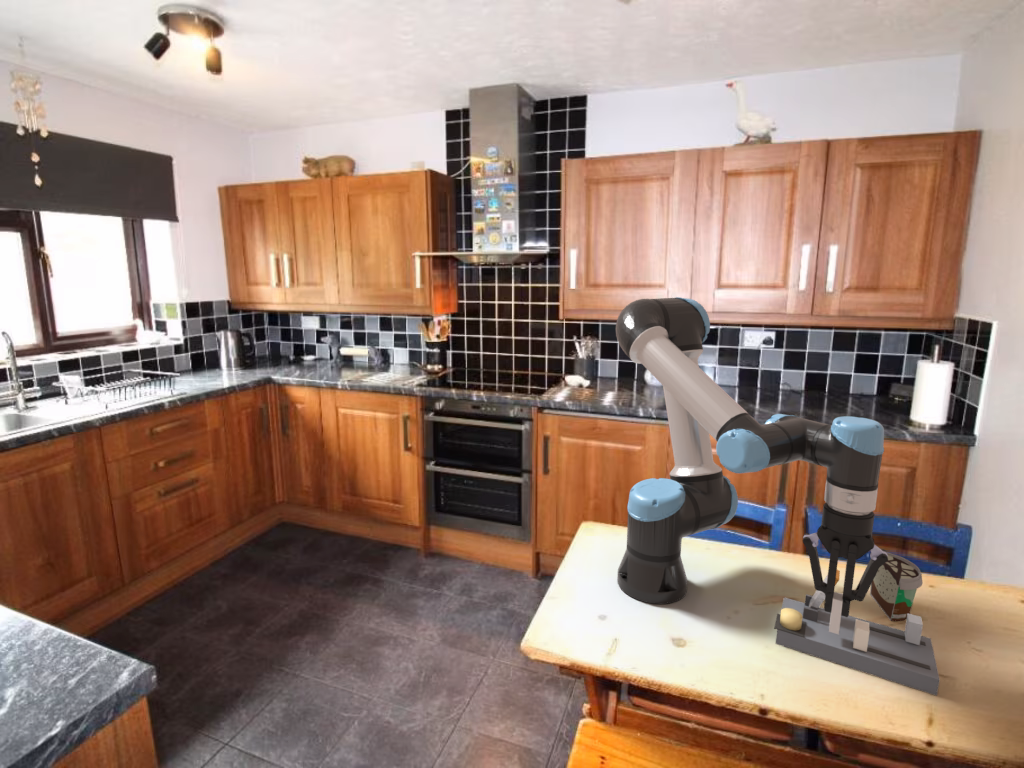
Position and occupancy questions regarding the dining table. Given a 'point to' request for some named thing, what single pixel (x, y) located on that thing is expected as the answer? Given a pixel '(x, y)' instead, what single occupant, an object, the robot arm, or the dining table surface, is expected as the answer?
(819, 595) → the lever
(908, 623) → the grey slider
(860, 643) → the cream slider
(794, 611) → the button
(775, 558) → the dining table surface
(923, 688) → the panel
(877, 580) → the food container
